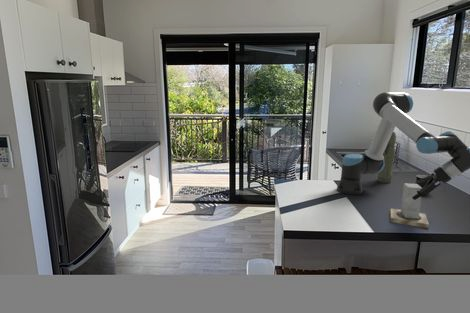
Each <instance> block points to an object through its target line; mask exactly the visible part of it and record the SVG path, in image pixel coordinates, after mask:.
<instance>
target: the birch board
mask: <svg viewBox="0 0 470 313" xmlns="http://www.w3.org/2000/svg"><path fill="white" fill-rule="evenodd" d="M389 210H390V211H389V215H390V216H389V217H390V222H391V223H395V224H401V225H407V226H414V227H418V228H426V229H429V226H430V223H429V221H428V217H427V214H426V213H424V212H420V213H419V219H415V218H406V217H404V215H403V214H402V213H401V209H397V208H390V209H389Z"/></svg>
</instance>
